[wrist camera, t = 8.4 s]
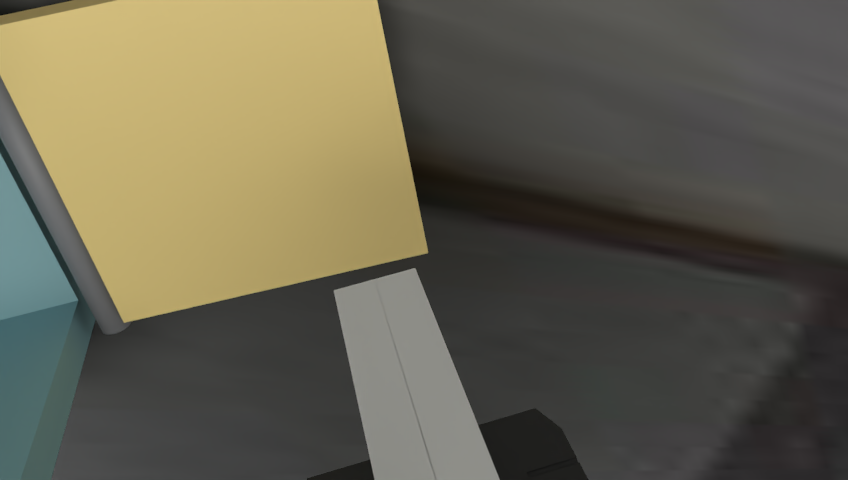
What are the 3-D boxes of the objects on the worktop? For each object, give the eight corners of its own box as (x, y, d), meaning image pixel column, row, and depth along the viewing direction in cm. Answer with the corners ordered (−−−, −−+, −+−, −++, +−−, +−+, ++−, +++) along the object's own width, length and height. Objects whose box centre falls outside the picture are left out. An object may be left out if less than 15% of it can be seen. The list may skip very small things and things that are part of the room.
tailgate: (105, 316, 25) (97, 339, 24) (-52, 10, 20) (-71, 22, 19) (424, 243, 26) (430, 263, 25) (359, -77, 20) (362, -70, 19)
